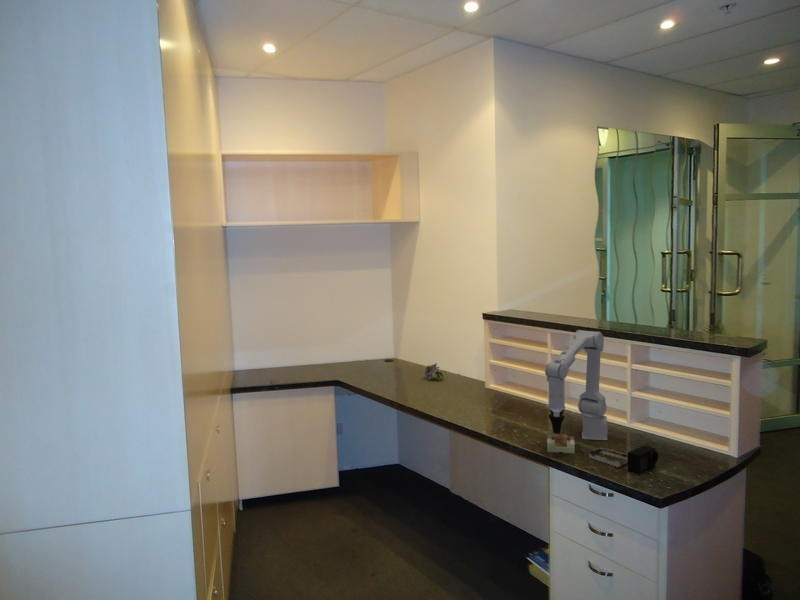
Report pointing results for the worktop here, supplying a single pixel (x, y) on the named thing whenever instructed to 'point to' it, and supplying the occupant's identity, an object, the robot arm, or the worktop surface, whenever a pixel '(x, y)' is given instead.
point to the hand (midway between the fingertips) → (556, 430)
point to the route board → (553, 448)
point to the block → (561, 440)
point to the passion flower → (433, 372)
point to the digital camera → (642, 459)
